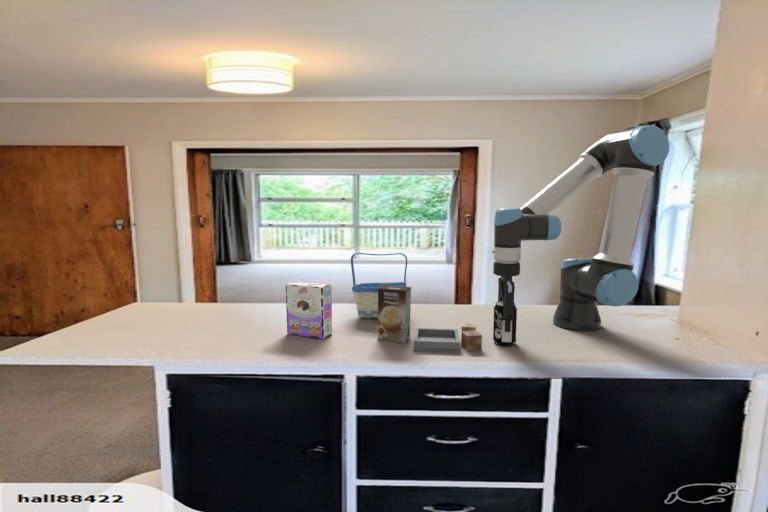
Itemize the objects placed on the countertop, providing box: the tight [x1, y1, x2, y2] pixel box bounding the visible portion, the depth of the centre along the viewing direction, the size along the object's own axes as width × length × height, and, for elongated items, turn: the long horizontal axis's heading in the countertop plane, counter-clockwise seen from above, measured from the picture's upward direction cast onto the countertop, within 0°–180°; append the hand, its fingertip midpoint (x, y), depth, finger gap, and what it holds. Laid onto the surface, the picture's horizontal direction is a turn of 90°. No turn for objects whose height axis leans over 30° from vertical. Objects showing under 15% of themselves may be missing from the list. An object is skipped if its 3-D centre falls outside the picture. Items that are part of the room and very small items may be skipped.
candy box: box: [285, 280, 333, 340], centre depth 140 cm, size 14×6×16 cm, turn 65°
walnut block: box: [460, 330, 483, 352], centre depth 128 cm, size 4×4×4 cm
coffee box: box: [376, 285, 412, 343], centre depth 136 cm, size 9×6×16 cm
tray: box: [413, 327, 461, 353], centre depth 131 cm, size 13×13×3 cm
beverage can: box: [492, 301, 518, 346], centre depth 132 cm, size 7×7×12 cm
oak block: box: [460, 322, 477, 340], centre depth 138 cm, size 4×4×4 cm
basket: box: [350, 252, 408, 319], centre depth 162 cm, size 21×16×24 cm
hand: (504, 337), depth 132 cm, fingers closed on beverage can, 6 cm apart
